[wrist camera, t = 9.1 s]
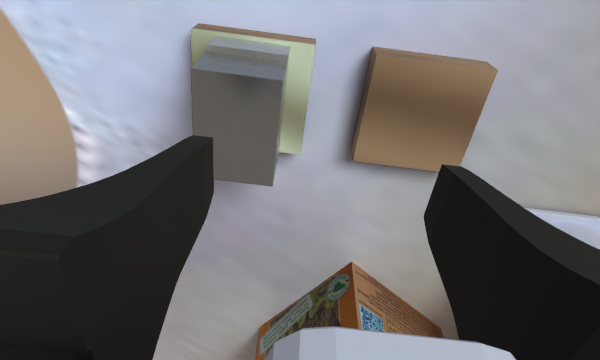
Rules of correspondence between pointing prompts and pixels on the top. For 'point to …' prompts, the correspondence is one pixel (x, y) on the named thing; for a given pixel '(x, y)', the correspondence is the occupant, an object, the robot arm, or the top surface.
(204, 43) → the stand
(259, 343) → the orange food box
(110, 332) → the robot arm
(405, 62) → the stand
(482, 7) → the top surface
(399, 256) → the top surface
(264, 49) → the block
